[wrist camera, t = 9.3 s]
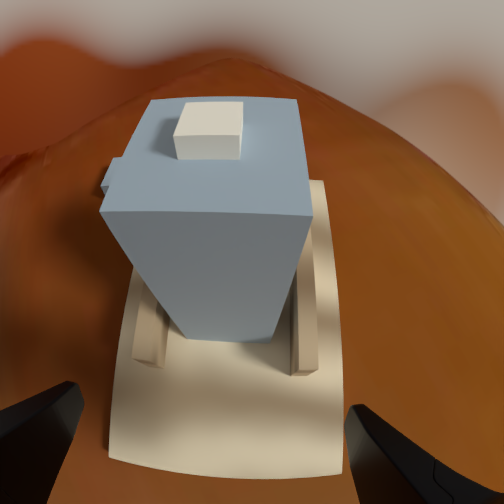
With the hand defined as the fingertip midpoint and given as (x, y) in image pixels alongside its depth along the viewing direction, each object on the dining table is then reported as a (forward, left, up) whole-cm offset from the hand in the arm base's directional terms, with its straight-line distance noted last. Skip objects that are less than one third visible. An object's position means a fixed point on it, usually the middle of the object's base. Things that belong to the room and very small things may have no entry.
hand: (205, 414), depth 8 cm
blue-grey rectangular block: (+7, +2, -8) cm, 11 cm away
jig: (+7, +2, -9) cm, 11 cm away
